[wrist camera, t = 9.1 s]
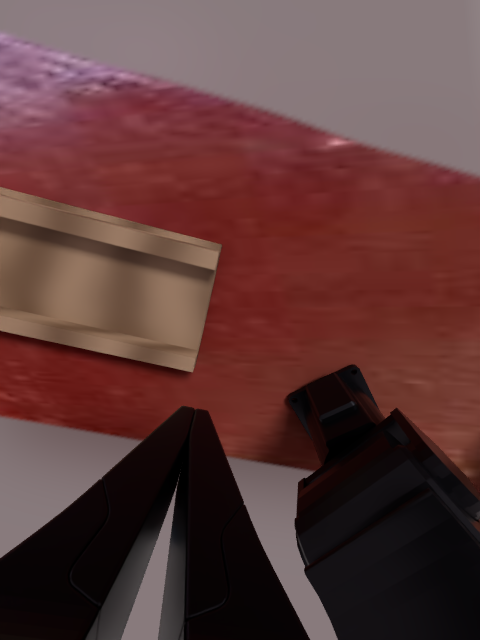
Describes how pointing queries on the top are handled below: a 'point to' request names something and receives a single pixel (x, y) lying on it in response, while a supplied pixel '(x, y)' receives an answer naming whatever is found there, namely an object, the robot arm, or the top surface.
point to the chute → (103, 281)
